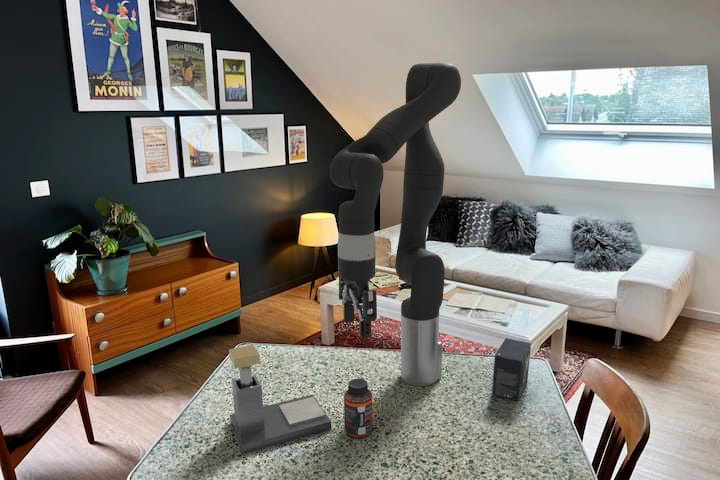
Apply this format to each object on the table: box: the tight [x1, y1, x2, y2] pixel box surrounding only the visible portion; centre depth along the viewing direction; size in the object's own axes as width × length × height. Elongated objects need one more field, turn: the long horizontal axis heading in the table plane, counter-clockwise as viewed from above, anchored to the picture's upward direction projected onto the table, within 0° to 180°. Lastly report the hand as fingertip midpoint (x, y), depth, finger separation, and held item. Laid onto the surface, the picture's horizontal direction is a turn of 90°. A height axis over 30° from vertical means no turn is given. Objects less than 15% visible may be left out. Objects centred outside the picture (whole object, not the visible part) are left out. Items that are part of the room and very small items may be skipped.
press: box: [229, 374, 332, 455], centre depth 117 cm, size 19×12×12 cm, turn 114°
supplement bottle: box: [343, 378, 374, 439], centre depth 115 cm, size 6×6×11 cm
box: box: [491, 337, 532, 402], centre depth 130 cm, size 11×7×10 cm, turn 152°
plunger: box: [228, 344, 261, 389], centre depth 112 cm, size 5×5×12 cm
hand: (356, 329), depth 113 cm, fingers open, 8 cm apart
